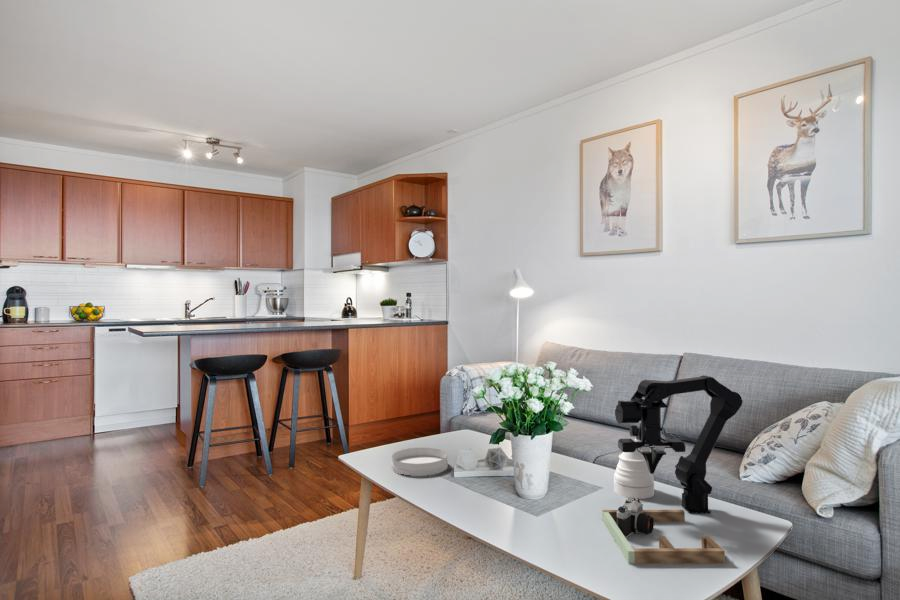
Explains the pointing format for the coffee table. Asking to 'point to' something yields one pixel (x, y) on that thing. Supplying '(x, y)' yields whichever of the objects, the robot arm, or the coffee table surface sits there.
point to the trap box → (666, 550)
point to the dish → (419, 461)
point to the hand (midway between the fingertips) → (651, 473)
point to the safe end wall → (618, 537)
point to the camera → (634, 518)
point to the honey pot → (633, 476)
